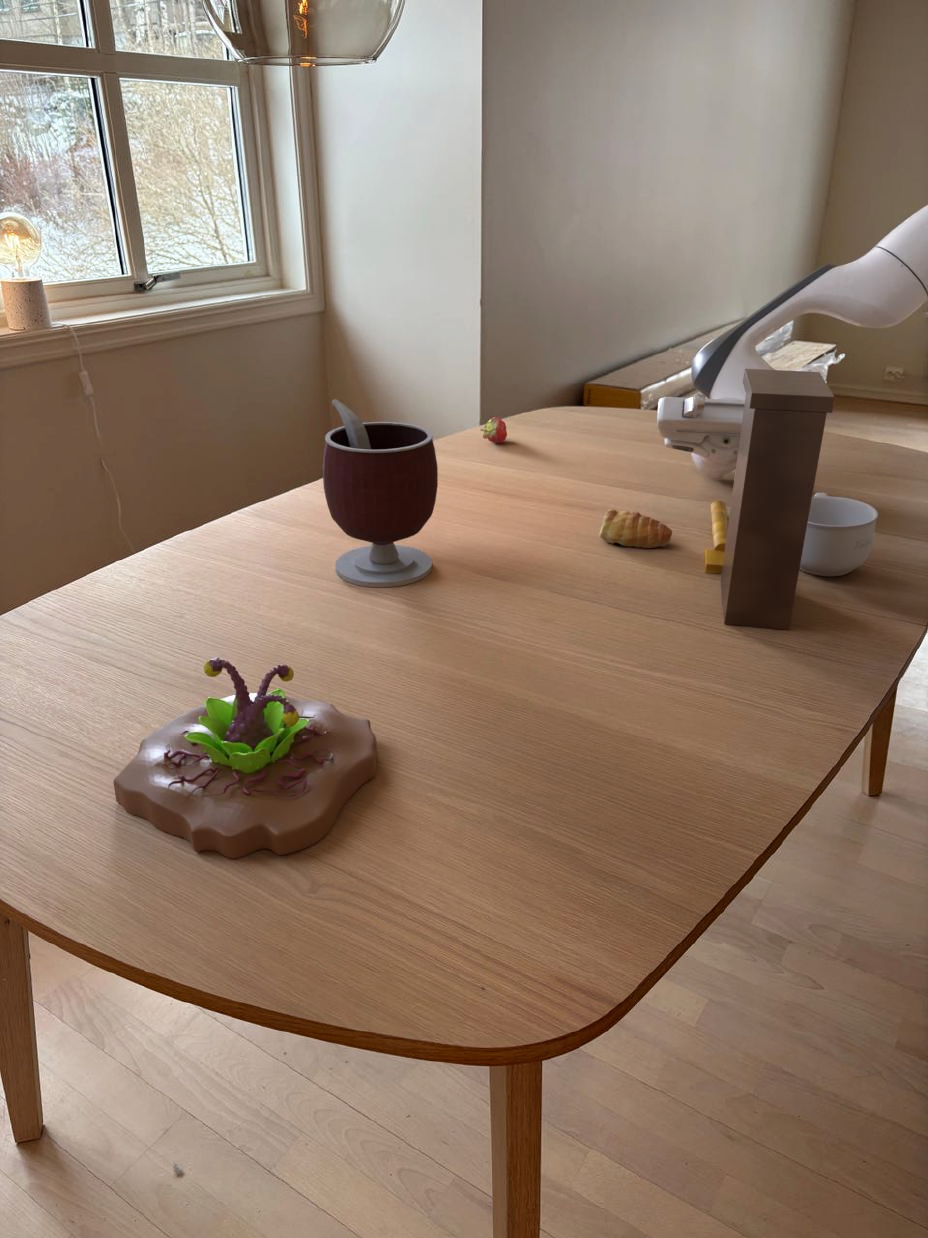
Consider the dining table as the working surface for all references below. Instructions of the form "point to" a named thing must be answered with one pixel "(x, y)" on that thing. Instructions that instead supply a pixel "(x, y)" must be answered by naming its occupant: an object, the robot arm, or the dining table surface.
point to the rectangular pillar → (772, 494)
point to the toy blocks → (717, 538)
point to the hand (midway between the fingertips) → (736, 401)
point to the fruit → (495, 430)
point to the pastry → (634, 530)
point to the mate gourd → (380, 496)
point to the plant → (249, 769)
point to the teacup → (837, 535)
